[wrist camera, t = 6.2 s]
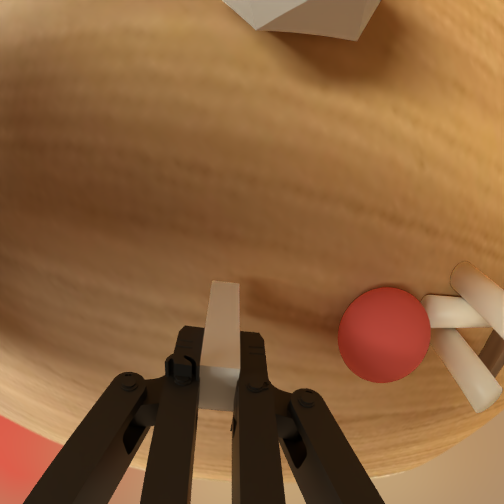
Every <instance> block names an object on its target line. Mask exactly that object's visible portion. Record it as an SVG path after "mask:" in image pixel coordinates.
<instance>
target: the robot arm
mask: <svg viewBox="0 0 504 504" xmlns="http://www.w3.org/2000/svg"><path fill="white" fill-rule="evenodd" d="M198 408H201V409H210V410H221V411H233V419H232V425H231V430H230V431H232V504H286V503H285V494H284V485H283V476H282V467H281V458H280V449H279V443H280V445H281V447H282V450H283V452H284V454H285V457H286V459H287V461H288V464H289V466H290V468H291V470H292V473H293V475H294V477H295V479H296V482H297V484H298V486H299V488H300V491H301V493H302V495H303V497H304V499H305V502H306V504H385V503H384V501H383V500H382V498H381V496H380V495H379V493H378V491H377V489H376V488H375V486H374V484H373V483H372V481H371V479H370V478H369V476H368V474H367V473H366V471H365V469H364V468H363V466H362V464H361V463H360V461H359V459H358V458H357V456H356V454H355V453H354V451H353V449H352V448H351V446H350V444H349V442H348V441H347V439H346V437H345V436H344V434H343V432H342V431H341V429H340V427H339V426H338V424H337V422H336V420H335V419H334V417H333V415H332V414H331V412H330V410H329V408H328V407H327V405H326V403H325V402H324V400H323V398H322V397H321V396H320V395H319V393H317V392H315V391H314V390H311V389H307V388H306V389H298V390H296V391H295V392H293V393H288V392H285V391H282V390H279V389H277V388H276V387H274V386H273V385H272V384H271V382H270V381H269V379H268V373H267V364H266V355H265V346H264V339H263V338H262V337H261V335H260V334H259V333H255V332H244V331H240V284H239V283H232V282H223V281H214V280H212V284H211V291H210V297H209V304H208V310H207V317H206V324H205V328H200V327H192V326H184V327H183V328H182V329H181V330H180V331H179V334H178V338H177V342H176V347H175V350H174V354H172V355H170V356H169V357H167V359H166V361H165V375H164V376H163V377H160V378H157V379H149V380H144V378H143V377H142V376H141V375H139V374H137V373H133V372H124V373H122V374H119V375H118V376H117V377H115V378H114V380H113V381H112V382H111V384H110V385H109V386H108V387H107V389H106V390H105V391H104V393H103V394H102V395H101V397H100V398H99V399H98V401H97V402H96V403H95V405H94V406H93V407H92V409H91V410H90V411H89V413H88V414H87V415H86V417H85V418H84V419H83V421H82V422H81V423H80V425H79V426H78V427H77V429H76V430H75V431H74V433H73V434H72V435H71V437H70V438H69V439H68V441H67V442H66V444H65V445H64V446H63V448H62V449H61V450H60V452H59V453H58V455H57V456H56V457H55V459H54V460H53V461H52V463H51V464H50V466H49V467H48V468H47V470H46V471H45V473H44V474H43V475H42V477H41V478H40V480H39V481H38V482H37V484H36V485H35V487H34V488H33V490H32V491H31V493H30V494H29V495H28V497H27V498H26V500H25V501H24V503H23V504H108V502H109V500H110V499H111V497H112V495H113V493H114V492H115V490H116V488H117V486H118V484H119V482H120V481H121V479H122V477H123V475H124V474H125V472H126V470H127V468H128V467H129V465H130V463H131V461H132V459H133V458H134V456H135V454H136V452H137V450H138V449H139V447H140V445H141V443H142V442H143V440H144V438H145V436H146V434H147V433H148V431H149V429H150V427H151V426H154V431H153V436H152V441H151V446H150V451H149V456H148V461H147V467H146V472H145V477H144V483H143V489H142V495H141V501H140V504H190V501H191V486H192V475H193V463H194V451H195V440H196V430H197V420H198ZM278 440H279V441H278Z"/></svg>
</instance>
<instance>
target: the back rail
mask: <svg viewBox="0 0 504 504" xmlns="http://www.w3.org/2000/svg"><path fill="white" fill-rule="evenodd" d="M479 358H480V360H481V361H482V362H483V363H484V365H485V366H486V367H487V369H488V370H489V371H490V373H491V374H492V375H493V377H494V378H495V377H496V376H497V374H498V373H499V371H500V370H501V368H502V367H503V365H504V339H503V338H502V337H501V336H500V335H499V334H498V333H497V332H496V331H495V330H493V332H492V334H491V335H490V337H489V339H488V341H487V343H486V345H485V346H484V348H483V350H482V351H481V353H480V355H479Z"/></svg>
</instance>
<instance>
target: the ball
mask: <svg viewBox="0 0 504 504" xmlns="http://www.w3.org/2000/svg"><path fill="white" fill-rule="evenodd" d="M430 338H431V326H430V321H429V318H428V315H427V312H426V310H425V308H424V307H423V306H422V304H421V303H420V302H419V301H418V300H417V299H416V298H415V297H414V296H413V295H411V294H410V293H408V292H406V291H403V290H401V289H397V288H391V287H383V288H377V289H373V290H370V291H368V292H366V293H364V294H362V295H361V296H359V297H358V298H357V299H355V300H354V301H353V302H352V303H351V304H350V306H349V307H348V308H347V310H346V311H345V313H344V315H343V317H342V319H341V322H340V325H339V330H338V345H339V350H340V353H341V356H342V358H343V360H344V362H345V363H346V365H347V366H348V368H349V369H350V370H351V371H352V372H353V373H355V374H356V375H357V376H359V377H360V378H363V379H365V380H367V381H371V382H376V383H387V382H393V381H396V380H399V379H401V378H404V377H405V376H407V375H409V374H410V373H411V372H412V371H414V370H415V369H416V368H417V367H418V365H419V364H420V363H421V362H422V360H423V359H424V357H425V355H426V353H427V351H428V348H429V344H430Z"/></svg>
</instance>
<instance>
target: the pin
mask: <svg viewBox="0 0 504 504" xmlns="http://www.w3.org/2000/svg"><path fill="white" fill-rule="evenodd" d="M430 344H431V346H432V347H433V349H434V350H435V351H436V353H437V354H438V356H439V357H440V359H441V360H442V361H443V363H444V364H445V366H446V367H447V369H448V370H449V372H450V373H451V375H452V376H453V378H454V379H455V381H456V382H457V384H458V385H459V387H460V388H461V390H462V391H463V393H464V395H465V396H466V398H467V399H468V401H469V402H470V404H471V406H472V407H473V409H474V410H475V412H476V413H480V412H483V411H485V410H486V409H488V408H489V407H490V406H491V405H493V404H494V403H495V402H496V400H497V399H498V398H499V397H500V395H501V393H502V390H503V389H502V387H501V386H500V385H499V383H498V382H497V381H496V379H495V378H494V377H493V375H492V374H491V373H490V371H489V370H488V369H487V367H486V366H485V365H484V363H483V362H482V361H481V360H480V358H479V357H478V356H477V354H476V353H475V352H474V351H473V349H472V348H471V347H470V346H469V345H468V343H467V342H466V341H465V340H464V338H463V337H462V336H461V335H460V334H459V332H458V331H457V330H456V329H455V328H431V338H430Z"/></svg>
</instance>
